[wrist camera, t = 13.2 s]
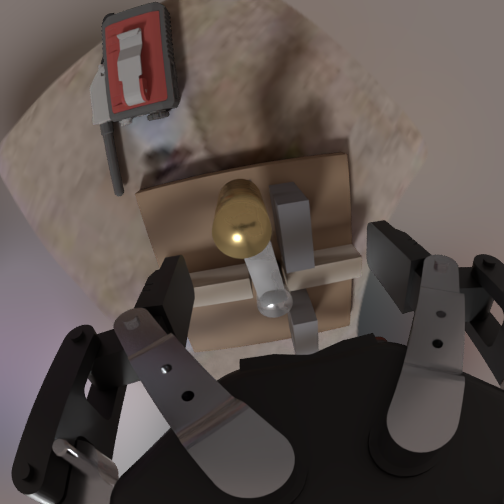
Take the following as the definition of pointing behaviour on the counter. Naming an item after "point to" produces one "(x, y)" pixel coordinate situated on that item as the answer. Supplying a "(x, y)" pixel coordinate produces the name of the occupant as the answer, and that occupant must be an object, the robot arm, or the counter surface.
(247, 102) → the counter surface
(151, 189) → the lock base
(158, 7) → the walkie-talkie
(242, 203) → the swing bar
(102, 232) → the counter surface
